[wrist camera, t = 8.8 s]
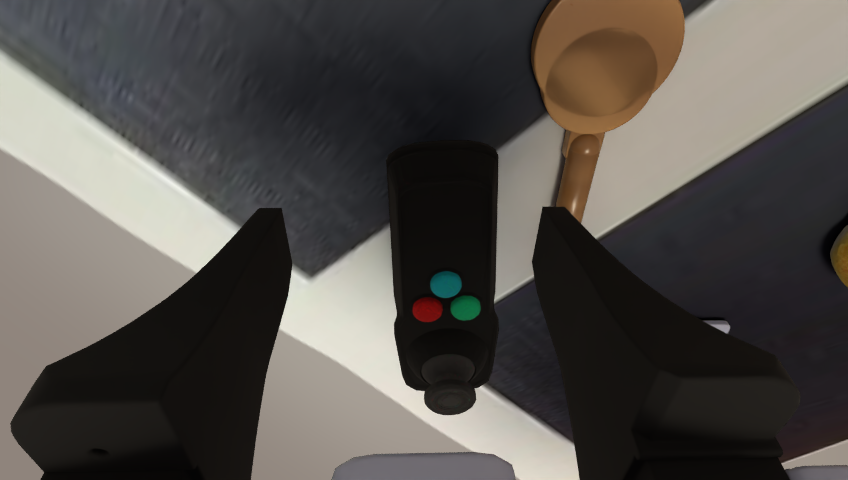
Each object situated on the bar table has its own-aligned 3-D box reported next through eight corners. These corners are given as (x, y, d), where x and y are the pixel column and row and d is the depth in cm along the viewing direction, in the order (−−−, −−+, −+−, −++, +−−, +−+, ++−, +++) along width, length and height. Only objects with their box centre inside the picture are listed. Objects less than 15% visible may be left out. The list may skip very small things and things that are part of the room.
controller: (401, 278, 30) (400, 441, 23) (383, 69, 23) (371, 209, 15) (476, 275, 30) (501, 436, 23) (484, 64, 23) (526, 202, 15)
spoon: (597, 286, 31) (603, 303, 30) (495, 287, 31) (498, 304, 30) (698, -35, 20) (715, -26, 19) (542, -37, 20) (550, -28, 19)
